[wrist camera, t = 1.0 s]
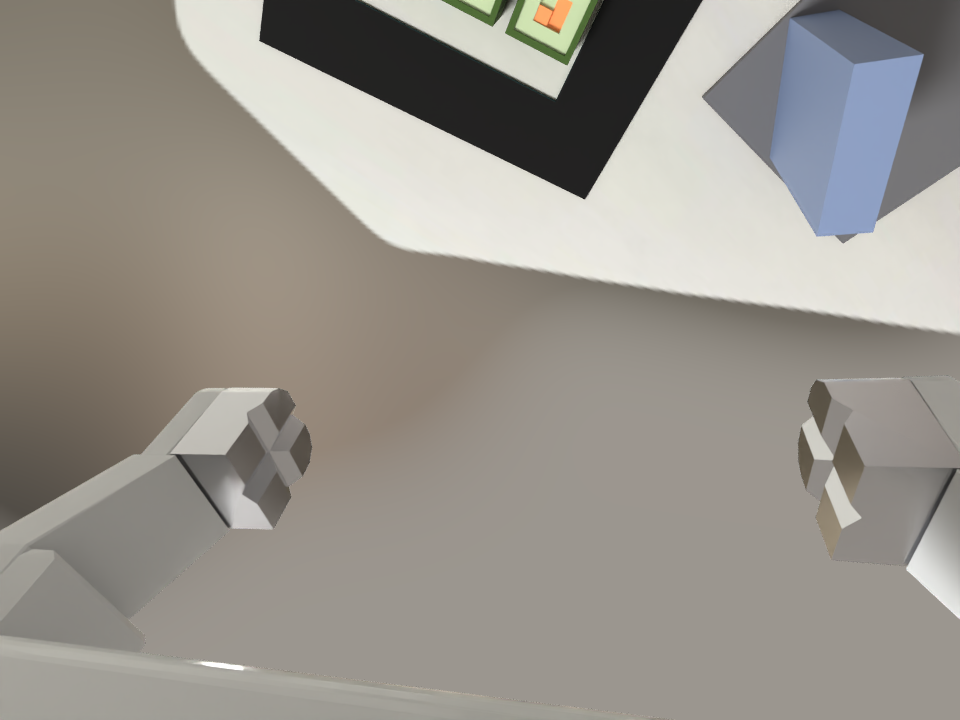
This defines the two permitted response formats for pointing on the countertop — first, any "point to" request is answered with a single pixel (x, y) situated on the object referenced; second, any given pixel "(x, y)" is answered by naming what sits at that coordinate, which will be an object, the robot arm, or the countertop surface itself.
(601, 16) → the sushi
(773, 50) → the rubber mat
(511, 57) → the countertop surface
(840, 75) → the card deck
